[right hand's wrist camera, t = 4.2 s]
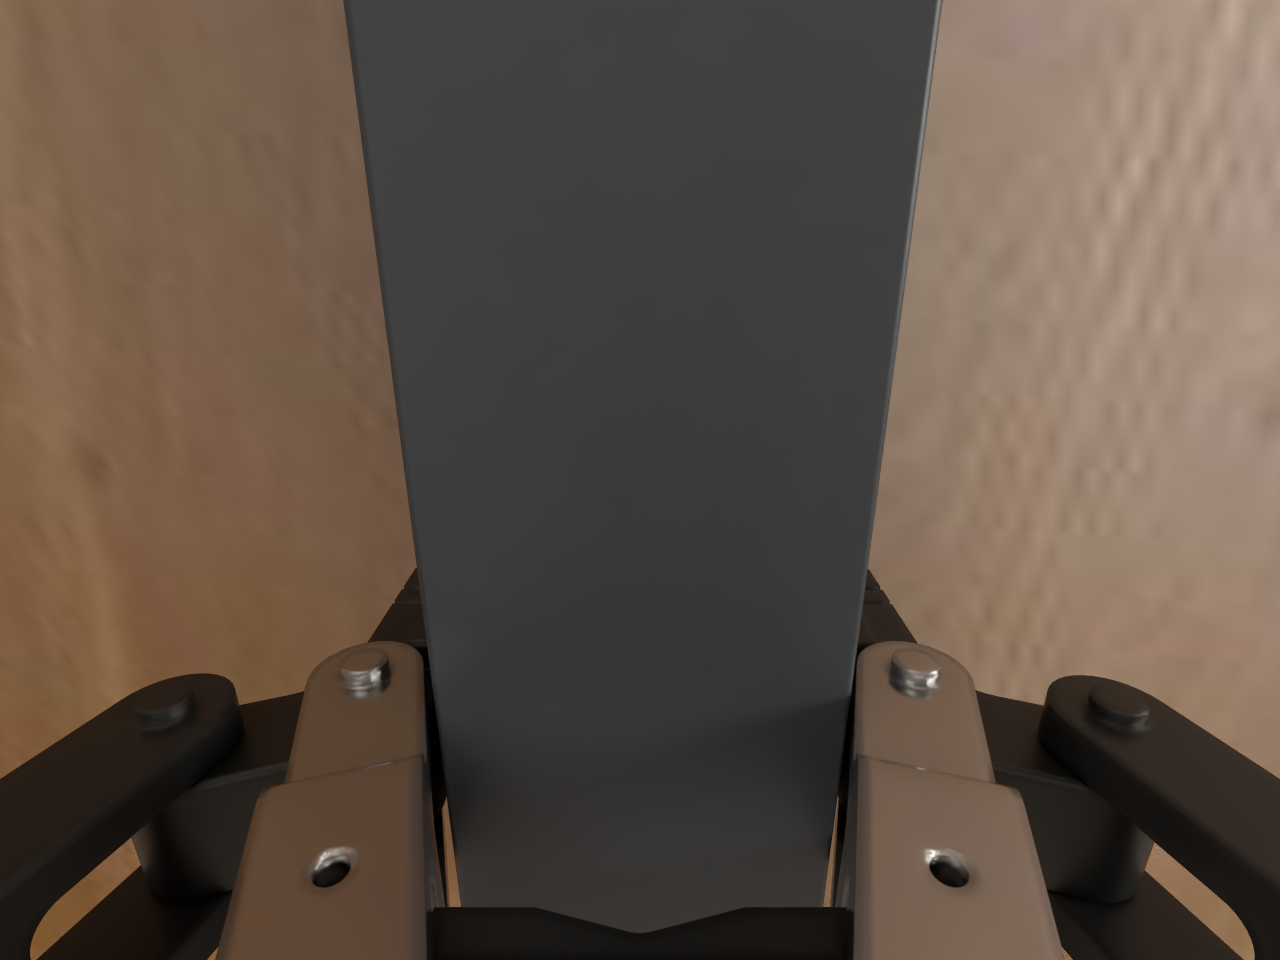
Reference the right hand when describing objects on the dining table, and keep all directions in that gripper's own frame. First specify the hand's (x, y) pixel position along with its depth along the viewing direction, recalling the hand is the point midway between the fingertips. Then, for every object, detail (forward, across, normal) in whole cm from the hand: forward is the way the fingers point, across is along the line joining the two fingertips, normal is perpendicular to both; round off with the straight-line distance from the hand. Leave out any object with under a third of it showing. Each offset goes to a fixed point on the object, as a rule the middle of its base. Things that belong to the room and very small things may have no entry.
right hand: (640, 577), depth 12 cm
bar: (+3, 0, -26) cm, 27 cm away
